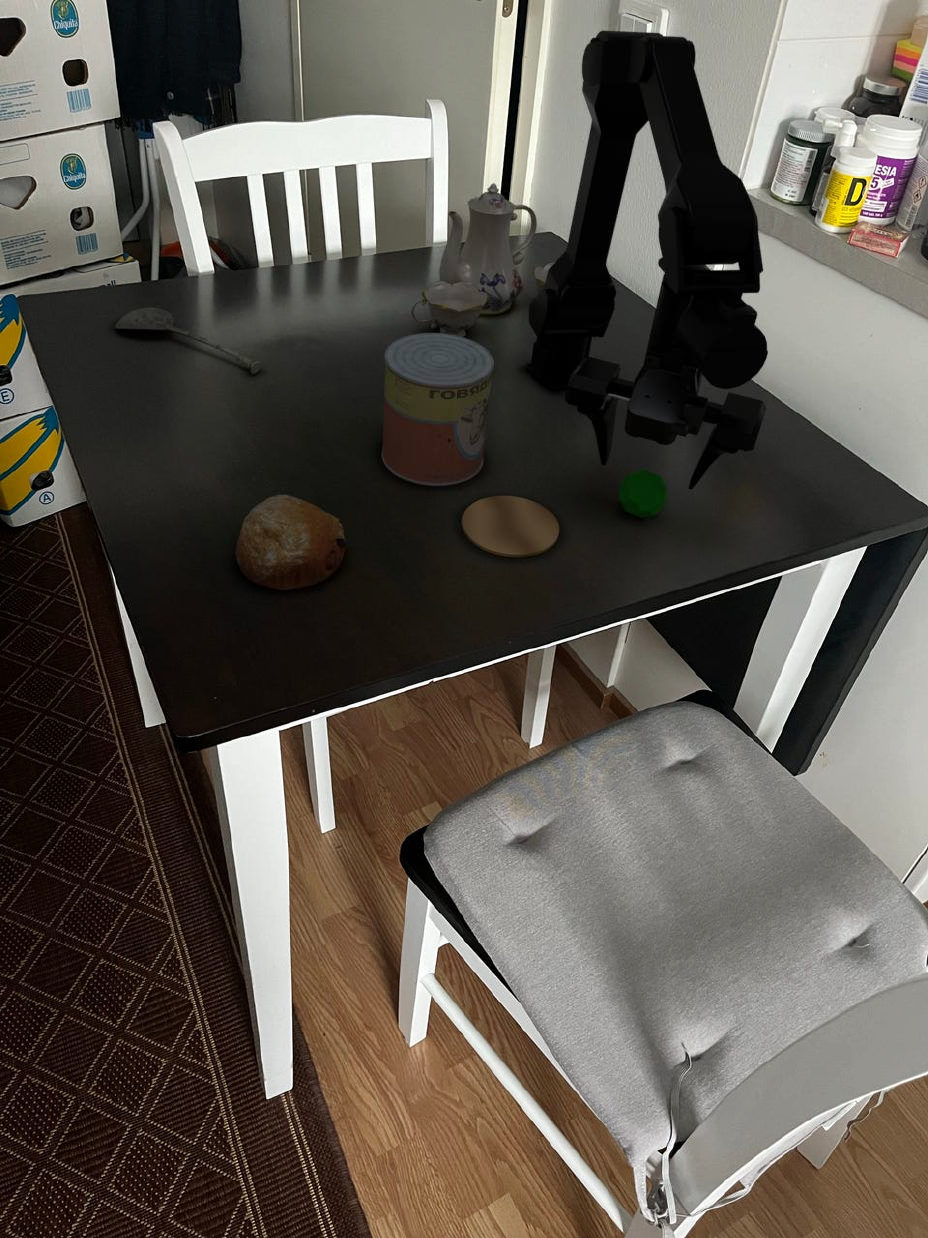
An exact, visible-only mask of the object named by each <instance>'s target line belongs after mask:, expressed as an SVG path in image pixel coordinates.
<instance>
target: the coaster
mask: <svg viewBox="0 0 928 1238" xmlns="http://www.w3.org/2000/svg"><path fill="white" fill-rule="evenodd" d="M461 528H462V529H461V530H462V532H463V534H464V535H465V537H466V538H467V539H468V540H469V541H470V542H471V543H472V544H473V545H474V546H476V547H477V548H479V549H480V550H483V551H485V552H486V553H490V554H492V555H496V556H498V557H499V556H500V557H505V558H517V559H518V558H529V557H534V556H537V555H540V554H543V553H545V552H546V551H549V549H551V548H552V547H553V546H554V545H555V544H556V542H557V541H558V539H559V533H560V525H559V522H558V520H557V518H556V517H555V515H554V514H553V513H552V512H551V511H550V510H549V509H548V508H547V507H545V506H543V505H542V504H540V503H538V502H536V501H534V500H531V499H528V498H524V497H520V496H514V495H494V496H493V495H492V496H487V497H484V498H481V499H478V500H476V501H475V502H473V503H471V504H470V505H469V506H468V507H467V508H466V509H465V510H464V512H463V514H462V518H461Z"/></svg>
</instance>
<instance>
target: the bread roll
mask: <svg viewBox="0 0 928 1238" xmlns="http://www.w3.org/2000/svg"><path fill="white" fill-rule="evenodd" d="M347 544H348V541H347V539H346V538H345V530H344V527H343V525H342V523H340V519H339V518H338V517H335V516H334V515H333V514H331V513H329V512H326V511H324V510H323V509H321V508H320V507H318V506H317V505H315V504H313V503H311V502H308V501H305V500H303V499H301V498H298V497H295V496H291V495H288V494H276V495H273V496H270V497H267V498H266V499H265V500H263V501H262V502H260V503H258V504H257V505H256V506H254V507H253V508H252V509H251V510H250V512H249V513H248V515H246V516H245V517H244V520H243V522H242V524H241V528H240V532H239V536H238V539H237V541H236V546H235V558H236V563H237V564H238V565H237V566H238V567H239V569H240V571H241V574H243V575H244V576H245V578H247V579H248V580H249V581H251V582H252V583H254V584H256V585H259V586H260V587H261V586H262V587H265V588H267V589H268V588H269V589H272V590H279V591H288V590H295V589H302V588H309V587H311V586H315V585H317V584H319V583H321V582H323V581H325V580H326V579H328V578H329V577H331V576H332V575H333V574H334V573H336V571H337V570H338V569H339V568H340V566H341V563H342V561H343V559H344V556H345V552H346V551H345V549H346V546H347Z"/></svg>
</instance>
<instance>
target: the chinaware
mask: <svg viewBox="0 0 928 1238" xmlns="http://www.w3.org/2000/svg"><path fill="white" fill-rule="evenodd" d="M499 191H500V189H499V188H498V186H497V184H496V183H494V182H493V183H491V184H490V186H489V187H488V188H487V191H485V192H482V194H480V196H475V197H474V198H470V199H469V200H468V201H467V202H466V203H467V207H468V211H469V212H468V213H469V224H468V231H467V235H466V238H465V242H464V245H463V247H462V242H463V241H462V239H463V233H464V232H463V231H464V223H463V219H462V217H461V215H460V214H459V213H458V212H457V211H454V210H449V211H448V212H447V214H448V216H449V217H450V218H451V221H452V223H451V224H452V225H451V230H450V233H449V236H448V239H447V242H446V245H445V248H444V250H443V252H442V256H441V259H440V265H439V274H438V275H439V280H437V281H436V280H435V281H434V282H432V283H431V284H430V285H429V286H428V288H427V289H426V290H422V293H421V298H420V299H417V300H416V301H414V303H413V304H412V306H411V316H412V318H413V319H414V321H416V322H418V323H420V324H421V323H422V324H423V323H427V322H432V323H431V324H430V328H431V329H436V328H437V327H439V330H440V332H439V333H443V334H451V335H456V336H460V337H465V336H467V335H466V330H467V329H470V328H471V327H473V325H475V323H476V322H477V320H478V319H479V317H480V316H495V315H500V314H501V315H502V314H503V313H506V312H508V311H509V310H511V308H512V306H513V301H514V300H515V299H516V298H517V297H518V296H519V295H520V294H521V293H522V292H523V289H524V283H523V280H522V278H521V276H520V274H519V272H518V270H517V267H516V266H517V265H519V264H522V262H523V261H524V259H525V254H524V253H523V252H522V251H523V250H525V249H526V248H527V247H528V246H529V245H530V244H531V243H532V241H533V239H534V237H535V235H536V231H537V226H538V221H537V216H536V213H535V211H534V210H533V209H532V208H531V207H529V206H528V205H525V204H514V203H513V202H512V201H510V200H507V199H505V196H504V195H502V193H500V192H499ZM516 210H522V211H523V210H524V211H526V212H527V213H528V214H529V217H530V228H529V232H528V234H527V237H526V238H525V240H524V241H523V242H522V243H521V244H520V245H519V246H518V247H516V248H515V249H511V244H510V232H511V231H510V230H511V222H514V221H516V220H517V219H518V214H517V213H516V212H515V211H516ZM461 247H462V249H461ZM555 262H556V261H553V262H548V263H547V264H546V265H544V266H535V267H533V268H532V269H531V271H532V275H533V277H534V280H535V282H536V289H537V293H538V294H539V293H540V291H541V290H542V289H544V285H545V282H546V278H547V274H548V270H549V269H550V267H551V266H552V265H553V264H554V263H555ZM538 294H537V295H538ZM420 302H421V305H422V306H425V304H427V307H428V312H429V314H430V318H427V319H418V318H417V317H416V316H415V313H414V311H415V308H416V306H417V305H418V304H419V303H420Z"/></svg>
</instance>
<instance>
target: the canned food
mask: <svg viewBox="0 0 928 1238" xmlns="http://www.w3.org/2000/svg"><path fill="white" fill-rule="evenodd" d="M494 366H495V359H494V356H493V355H492V354H491V352H490V351H489V350H488V349H487V348H486V347H485V346H483V345H481V344H480V343H479V342H476V341H474V340H472V339H470V338H466V337H465V336H462V337H460V336H456V335H451V334H443V333H441V332H423V333H415V334H410V335H406V336H403V337H400V338H398V339H396V340H395V341H393V342H391V343H390V344H389V345H388V347H387V348H386V349H385V351H384V388H383V389H384V393H383V421H382V423H383V424H382V425H383V427H382V449H381V460H382V463H383V465H384V466H385V467H386V468H387V470H388V471H390V472H391V473H392V474H393V475H395V476H397V477H398V478H399V479H402V480H404V481H407V482H409V483H413V484H417V485H420V486H428V487H445V486H447V487H448V486H453V485H457V484H460V483H461V484H462V483H464V482H467V481H468V480H470V479H472V478H474V477H475V476H476V475H477V474H479V473H480V471H481V470H482V468H483V465H484V451H485V450H484V449H485V441H486V432H487V423H488V413H489V406H490V405H489V404H490V396H491V388H492V387H491V386H492V378H493V370H494Z"/></svg>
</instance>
